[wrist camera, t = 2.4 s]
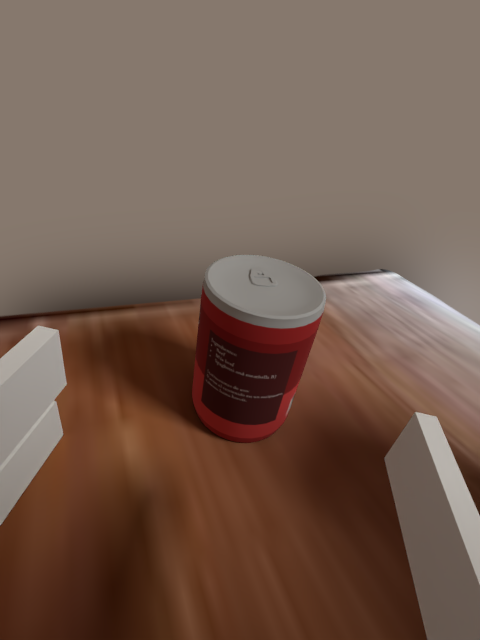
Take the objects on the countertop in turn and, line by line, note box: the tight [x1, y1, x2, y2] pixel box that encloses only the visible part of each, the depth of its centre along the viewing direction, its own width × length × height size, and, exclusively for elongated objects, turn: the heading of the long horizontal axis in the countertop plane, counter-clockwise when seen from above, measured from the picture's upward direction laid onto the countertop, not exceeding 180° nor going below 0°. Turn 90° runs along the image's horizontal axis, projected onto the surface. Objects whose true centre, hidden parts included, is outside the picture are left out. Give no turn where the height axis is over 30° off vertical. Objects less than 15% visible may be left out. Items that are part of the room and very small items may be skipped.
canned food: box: [192, 255, 326, 443], centre depth 24 cm, size 8×8×11 cm
